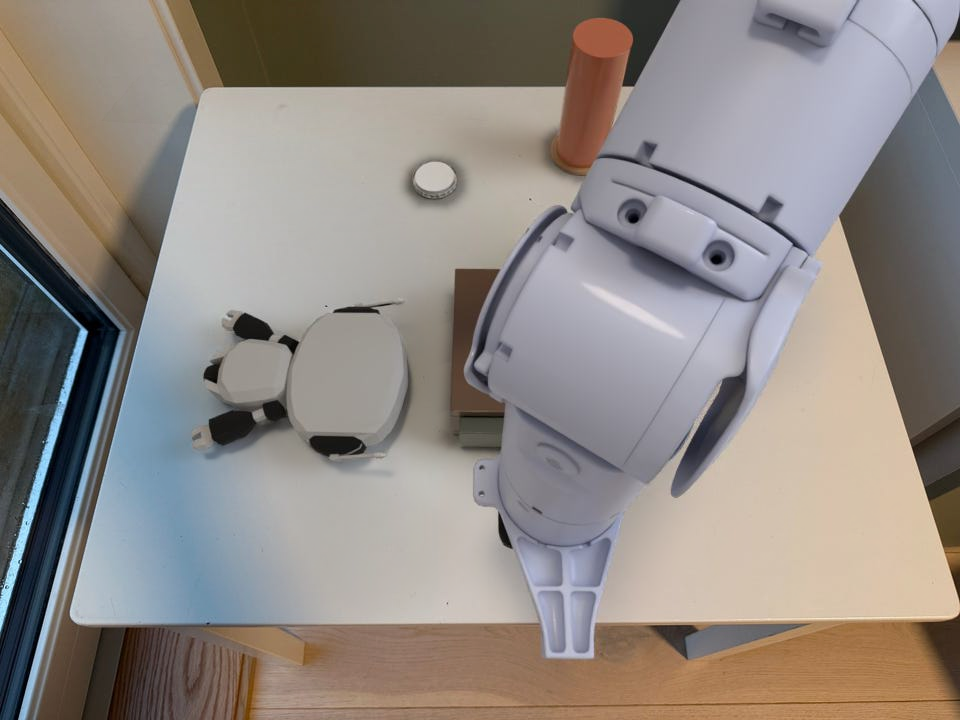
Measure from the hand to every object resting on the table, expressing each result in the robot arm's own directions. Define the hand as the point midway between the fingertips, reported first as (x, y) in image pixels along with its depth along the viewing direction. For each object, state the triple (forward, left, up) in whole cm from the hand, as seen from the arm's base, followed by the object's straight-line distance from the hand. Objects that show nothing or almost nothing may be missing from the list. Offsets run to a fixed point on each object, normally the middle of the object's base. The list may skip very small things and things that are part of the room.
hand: (542, 523), depth 36 cm
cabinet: (+4, -13, -6) cm, 15 cm away
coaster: (+6, -36, -6) cm, 37 cm away
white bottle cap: (+18, -28, -6) cm, 34 cm away
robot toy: (+19, -5, -7) cm, 21 cm away
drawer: (+3, -11, -5) cm, 12 cm away
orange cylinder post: (+6, -36, -6) cm, 36 cm away
